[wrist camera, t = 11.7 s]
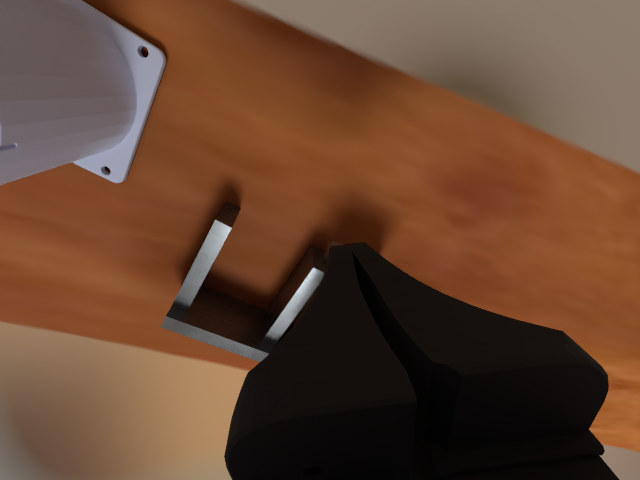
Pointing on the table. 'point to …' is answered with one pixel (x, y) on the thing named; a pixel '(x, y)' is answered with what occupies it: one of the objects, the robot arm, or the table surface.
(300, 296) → the rack
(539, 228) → the table surface
